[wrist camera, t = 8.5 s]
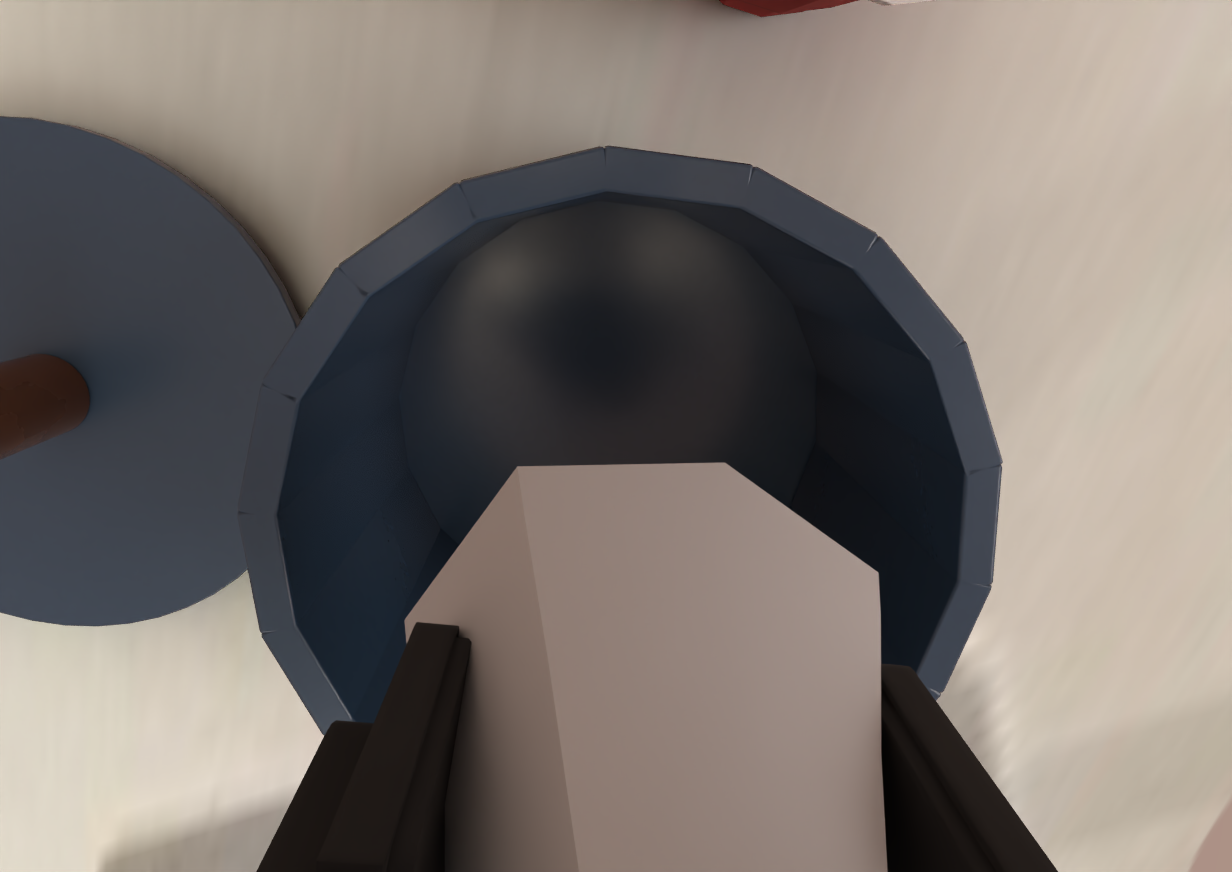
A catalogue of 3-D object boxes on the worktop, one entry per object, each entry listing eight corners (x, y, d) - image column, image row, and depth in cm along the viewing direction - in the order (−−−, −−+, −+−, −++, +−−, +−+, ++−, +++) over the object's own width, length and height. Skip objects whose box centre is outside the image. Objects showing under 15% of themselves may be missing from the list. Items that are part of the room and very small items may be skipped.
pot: (389, 147, 25) (232, 95, 14) (878, 210, 26) (1095, 209, 15) (370, 597, 29) (237, 833, 18) (793, 636, 30) (913, 881, 19)
